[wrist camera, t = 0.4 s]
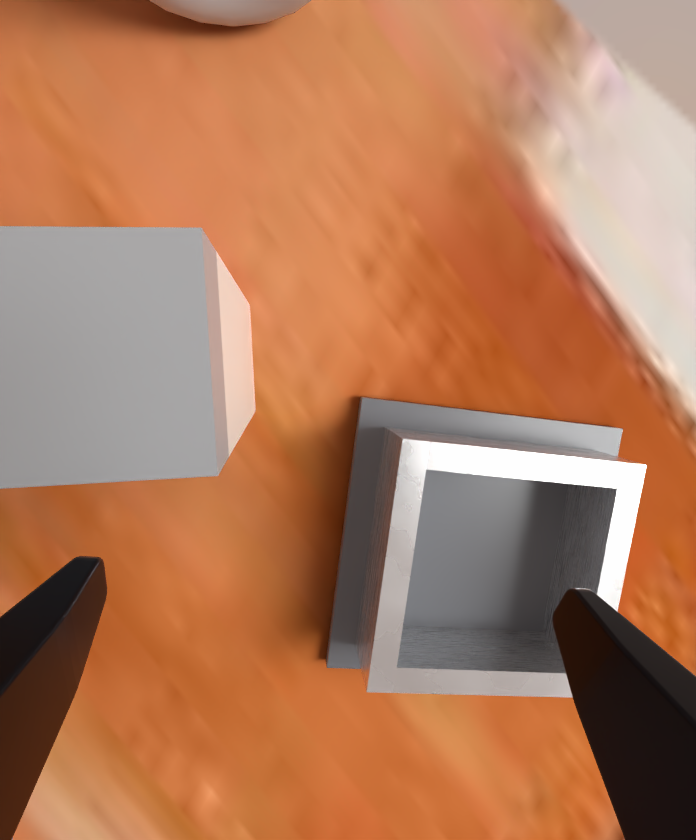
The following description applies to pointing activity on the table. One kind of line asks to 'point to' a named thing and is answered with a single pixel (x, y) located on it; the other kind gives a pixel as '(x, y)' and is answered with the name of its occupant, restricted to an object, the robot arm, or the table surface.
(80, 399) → the gray square block
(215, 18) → the donut
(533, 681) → the metal collar
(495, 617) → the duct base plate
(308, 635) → the table surface
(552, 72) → the table surface
